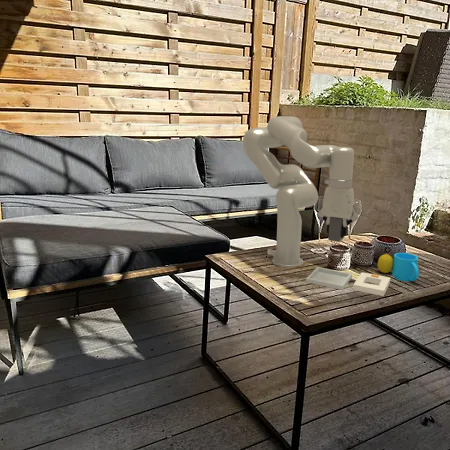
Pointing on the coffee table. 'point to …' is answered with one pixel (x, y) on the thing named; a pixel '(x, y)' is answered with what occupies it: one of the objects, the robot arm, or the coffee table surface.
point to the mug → (405, 267)
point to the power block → (369, 288)
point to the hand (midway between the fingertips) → (336, 235)
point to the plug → (335, 229)
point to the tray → (329, 278)
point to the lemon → (385, 263)
